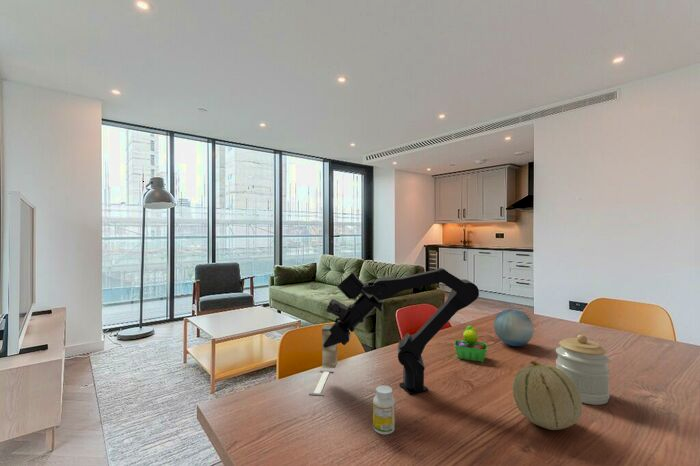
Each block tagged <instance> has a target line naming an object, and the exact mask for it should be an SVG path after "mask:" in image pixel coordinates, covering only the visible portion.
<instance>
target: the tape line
mask: <svg viewBox="0 0 700 466" xmlns="http://www.w3.org/2000/svg"><path fill="white" fill-rule="evenodd" d="M319 372H320V373H322V374H321V376H320V379H319V381H318V382H317V385H316V387H315V388H314V389H315V390H314V391H313V392H309V393H308V394H309V396H318V397H319V396H321V397H324V395H325V393H322V391H323V388H324V387H325V383H326V381H327V379H328V377H329V375H330V373H331V374H333V373H334V370H322V369H321V370H320V371H319Z"/></svg>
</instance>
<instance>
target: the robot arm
mask: <svg viewBox="0 0 700 466" xmlns="http://www.w3.org/2000/svg"><path fill="white" fill-rule="evenodd" d="M439 283H440V284H443V285H445V286H446V287H448V288H450V289H451V290H450V292H449V294H448V296H447V299H446V300H445V301H444V302H443V304H442V305H441V306H440V307H439V308H438V309H436V311H434V313H433V314H432V315H431V317H429V318H428V319H427V321H426V322H425V323H424V324H423V325H422V326H421V327H420V328H419V329H418V330H417V331H416V332H415V333H413V334H412V335H410V334H409V333H408V332H406V334H405V335H404V336H403V337H402V339H400V340H398V345H397V360H398V362H399V364H400V365H402V366H403V370H402V371H403V373H402V375H403V380H402V381H403V382H399V387H400V388H402V389H403V390H404V391H405V392H407V393H408V394H409V395H414V394H418V393H420V394H421V393H424V392H427V391H429V388H428V387H427V386H425V369H426V367H425V364H424V359H423V356H422V355H423V352H424V349H425V347H426V346H427V344H428V343H429V342H430V341H431V340H432V339H433V338H434V337H435V336H436V334H438V332H439V331H440V330H441V329H442V328H443V327H444V326H445V325H446V324H447V323H448V322H449V321H450V320H451V319H452V318H453V317H454V316H455V314H456V313H458V312H459V311H460V310H462V309H464V308H467V307H469V306H470V305H471V304H472V303H474V302H475V301H476V300H478V298H479V296H480V292H479V288H478V286H477V285H476V284H474V283H473V282H472V281H470V280H469V279H463V278H462V279H460V278H458V277H457V276H456V275H453V274H452V273H450V272H448V270H446V269H445V268H443V267H437V269H433V270H427V271H423V272H420V273H419V272H418V273H415V274H410V275H406V276H402V277H393V276H392V277H391V276H390V277H379V278H376V279H375V280H374V281H370V282H362V280H360V278H359V277H358V276H357V275H356V273H355V272H353V271H352V272H351V273H350V274H349V275H348V276H347V277H345V278H344V279H343V280H342V281H341V282H339V284H338V285H337V286H336V288H337V289H338V290H339V291H340V292H341V293H342V294H343V295H344V296H345V297H346V298H347V299H348V300H353V301H354V300H355V301H354V302H353V303H352V304H349V305H346V304H344V303H342V302H340V301H337V300H336V299H333V298H331V299H330V300H329V302H328V305H327V306H326V309H325V312H327V313H329V314H332V315H334V316H335V317H336V318H335V320H334V323H333V324H332V326H331V328H330V332H331V334H330V336H329V337H328V339H327V340H326V342H325V343H324V345H323V346H324V347H325V348H327V347H330V346H332V345H335V344H337V345H338V344H342V345H343V346H345V345H347V344H348V343H349V342H350V340H351V333H353V332H354V331H355V329H356V328H357V327H358V326H359V325H360V324H362V323H363V322H364V320H365V319H366V318H367V317H369V315H370V314H371V313H372V312H373V311H374V310H375V309H376V308H377V310H378V311H379V312H383V305H384V301H383V300H386V299H388V298H391V297H394V296H395V295H397V294H399V293H401V292H403V291H407V290H412V289H417V288H420V287H421V288H422V287H425V286H430V285H435V284H439Z"/></svg>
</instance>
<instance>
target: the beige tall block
mask: <svg viewBox="0 0 700 466" xmlns="http://www.w3.org/2000/svg"><path fill="white" fill-rule="evenodd" d="M332 325H333V324H332ZM332 325H330V324H329V325H327V324H326V325H325V324H324V325H323V327H322V328H321V345H322V346H321V350H322V351H321V353H322V354H321V355H322V356H321V357H322V359H321V360H322V363H321V364H322V367H321V368H324V369H326V368H328V369H336V367H337V365H338V344H335V345H332V346H330V347H327V348H325V347H324V346H323V345H324V343H325V342H326V340H327V339H328V337H329V336H330V334H331V332H330V328H331V326H332Z"/></svg>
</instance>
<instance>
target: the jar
mask: <svg viewBox="0 0 700 466" xmlns="http://www.w3.org/2000/svg"><path fill="white" fill-rule="evenodd" d="M558 345H559V346H558V347H556V348H555V352H556V354H557V358H556V359H555V365H556V366H555V367H556V368H558V369H560V370H561V371H563V372H564V373H565V374H566V375H567V376H568V377H569V378H570V379H571V380H572V382H573V383H574V385H575V386H576V388H577V390H578V391H579V394H580V397H581V401H582V404H587V405H594V406H597V405H598V406H601V405H605V404H608V402H609V399H610V373H611V371H610V369H609V367H608V364H609V363H610V362H611V359H610V357H609V356H607V355H606V353H607V350H606V349H605V348H604V347H603V346H601V345H600V343H598V342H596V341H593V340H590V339H588V337H587V336H586V335H585V334H578V335H577V336H576V337H566V338H565V339H562V340H560V341H559V342H558Z"/></svg>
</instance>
